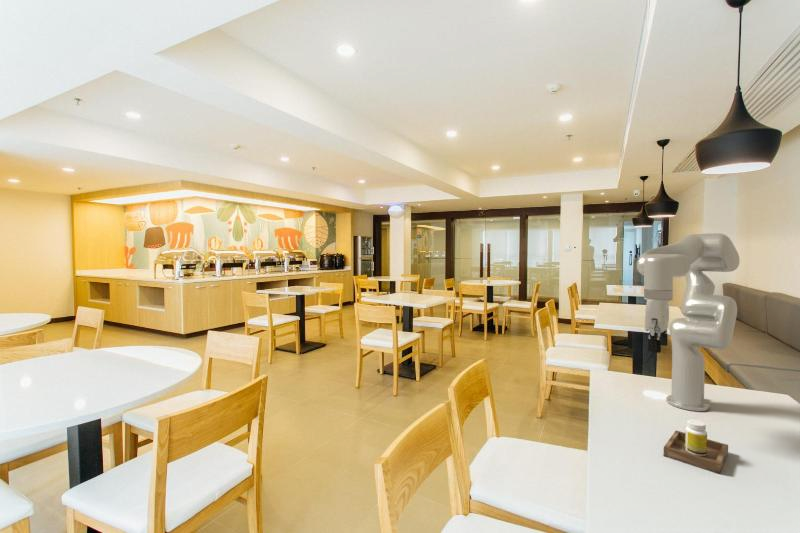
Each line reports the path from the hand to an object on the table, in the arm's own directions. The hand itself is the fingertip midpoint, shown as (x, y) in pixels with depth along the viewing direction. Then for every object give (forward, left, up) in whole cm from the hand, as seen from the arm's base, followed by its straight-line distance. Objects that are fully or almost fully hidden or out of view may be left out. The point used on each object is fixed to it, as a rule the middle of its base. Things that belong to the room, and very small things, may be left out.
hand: (658, 348), depth 121 cm
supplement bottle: (+12, +12, -25) cm, 30 cm away
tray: (+12, +12, -25) cm, 30 cm away
